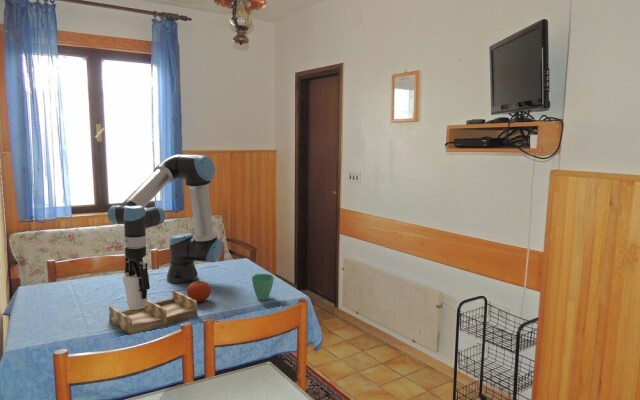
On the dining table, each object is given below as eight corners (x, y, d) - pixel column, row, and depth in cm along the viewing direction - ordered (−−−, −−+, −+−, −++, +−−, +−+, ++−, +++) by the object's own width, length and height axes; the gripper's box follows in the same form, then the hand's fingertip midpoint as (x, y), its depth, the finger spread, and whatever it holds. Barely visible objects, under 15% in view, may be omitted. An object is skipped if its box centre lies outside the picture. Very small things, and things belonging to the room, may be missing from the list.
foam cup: (125, 303, 180) (124, 271, 178) (150, 301, 183) (149, 269, 181) (123, 312, 171) (122, 278, 170) (149, 309, 174) (148, 276, 173)
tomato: (214, 303, 201) (213, 281, 200) (190, 307, 196) (190, 284, 194) (206, 295, 210) (206, 274, 208) (184, 299, 204) (183, 278, 203)
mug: (276, 300, 206) (276, 279, 204) (255, 303, 202) (255, 281, 200) (266, 290, 219) (266, 270, 218) (246, 292, 215) (246, 272, 214)
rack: (109, 321, 179) (108, 306, 178) (174, 303, 199) (174, 290, 199) (129, 335, 167) (129, 319, 166) (197, 315, 187) (196, 301, 186)
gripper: (113, 242, 179) (115, 297, 182) (139, 253, 164) (140, 313, 167) (132, 240, 184) (133, 293, 187) (158, 250, 169) (160, 308, 172)
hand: (137, 302), depth 177 cm, fingers closed on foam cup, 9 cm apart
